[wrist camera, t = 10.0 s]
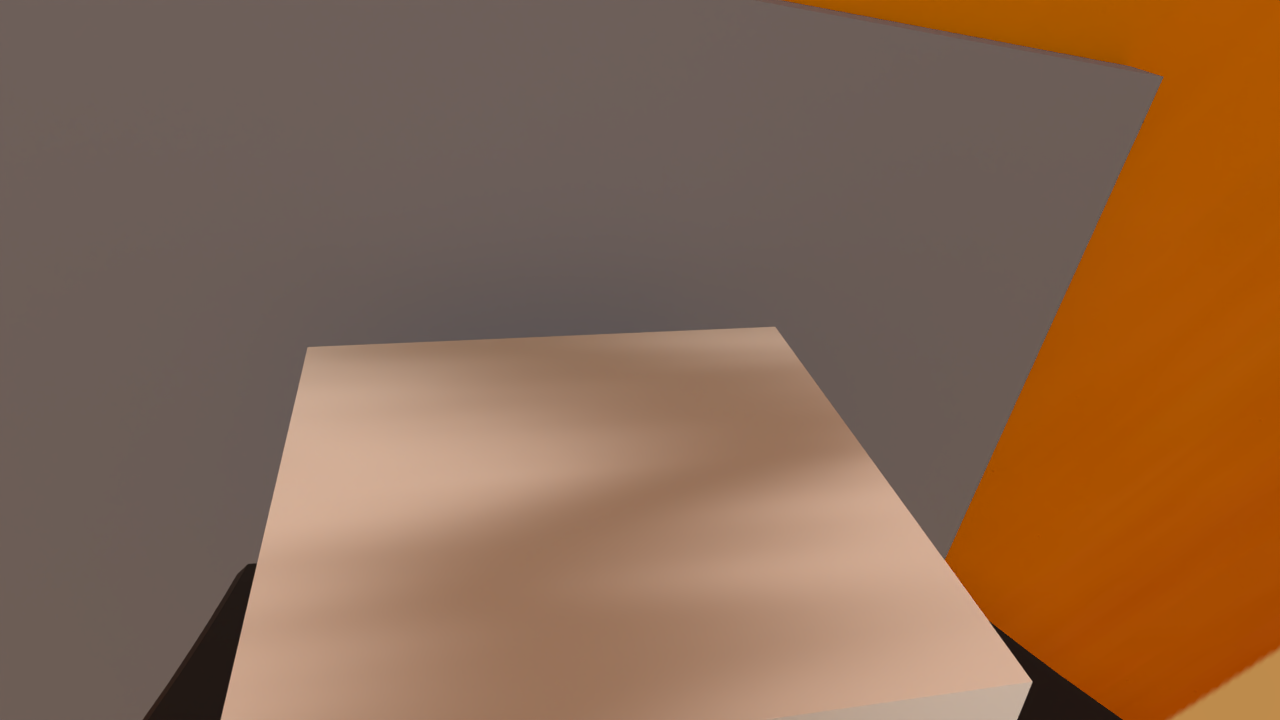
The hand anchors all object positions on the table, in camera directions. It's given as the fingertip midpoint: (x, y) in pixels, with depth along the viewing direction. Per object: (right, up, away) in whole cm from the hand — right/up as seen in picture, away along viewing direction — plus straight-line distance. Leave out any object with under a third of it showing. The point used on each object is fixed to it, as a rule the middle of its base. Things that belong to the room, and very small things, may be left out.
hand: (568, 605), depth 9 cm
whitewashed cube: (0, +1, +1) cm, 1 cm away
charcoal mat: (-1, +2, +3) cm, 3 cm away
